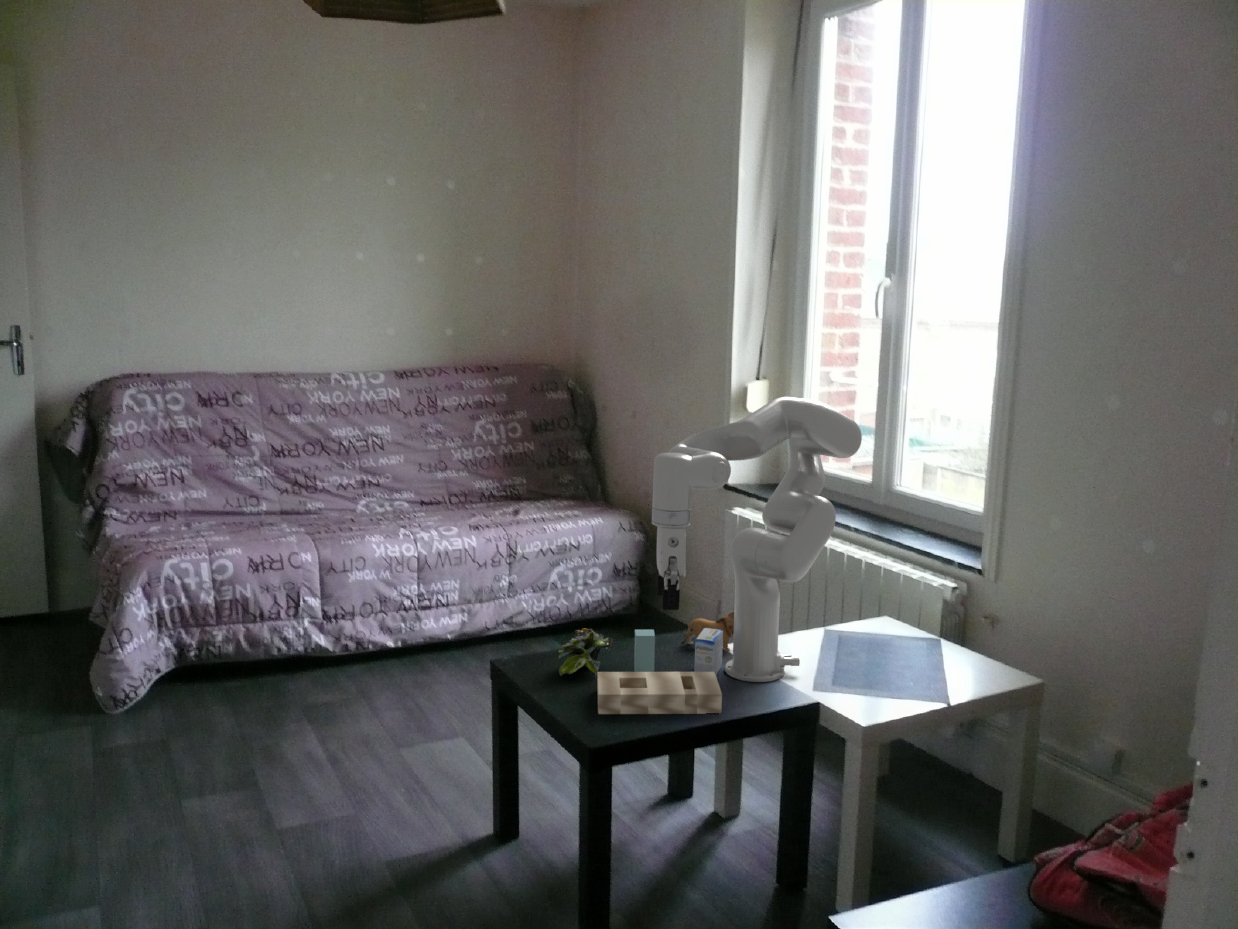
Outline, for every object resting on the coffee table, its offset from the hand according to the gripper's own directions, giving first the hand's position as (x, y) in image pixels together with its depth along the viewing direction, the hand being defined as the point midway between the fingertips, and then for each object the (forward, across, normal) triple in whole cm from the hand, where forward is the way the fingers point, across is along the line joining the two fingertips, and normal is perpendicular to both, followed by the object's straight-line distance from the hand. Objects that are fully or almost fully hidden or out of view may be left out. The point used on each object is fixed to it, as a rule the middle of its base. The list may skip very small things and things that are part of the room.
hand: (667, 602), depth 210 cm
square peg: (+21, +14, +3) cm, 25 cm away
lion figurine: (+20, +32, -15) cm, 41 cm away
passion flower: (+21, +17, +15) cm, 31 cm away
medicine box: (+21, +16, -11) cm, 29 cm away
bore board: (+21, +1, +1) cm, 21 cm away
